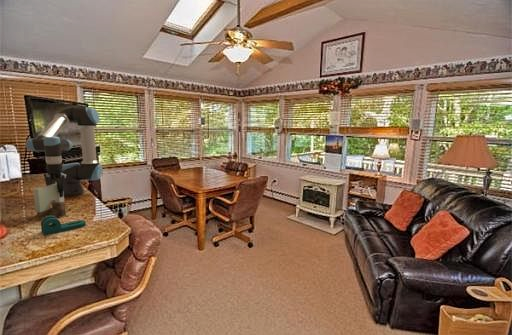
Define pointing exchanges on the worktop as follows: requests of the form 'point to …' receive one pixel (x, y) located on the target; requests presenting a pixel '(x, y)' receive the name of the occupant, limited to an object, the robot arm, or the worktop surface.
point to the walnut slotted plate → (55, 210)
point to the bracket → (58, 225)
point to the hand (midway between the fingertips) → (57, 201)
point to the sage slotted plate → (45, 197)
